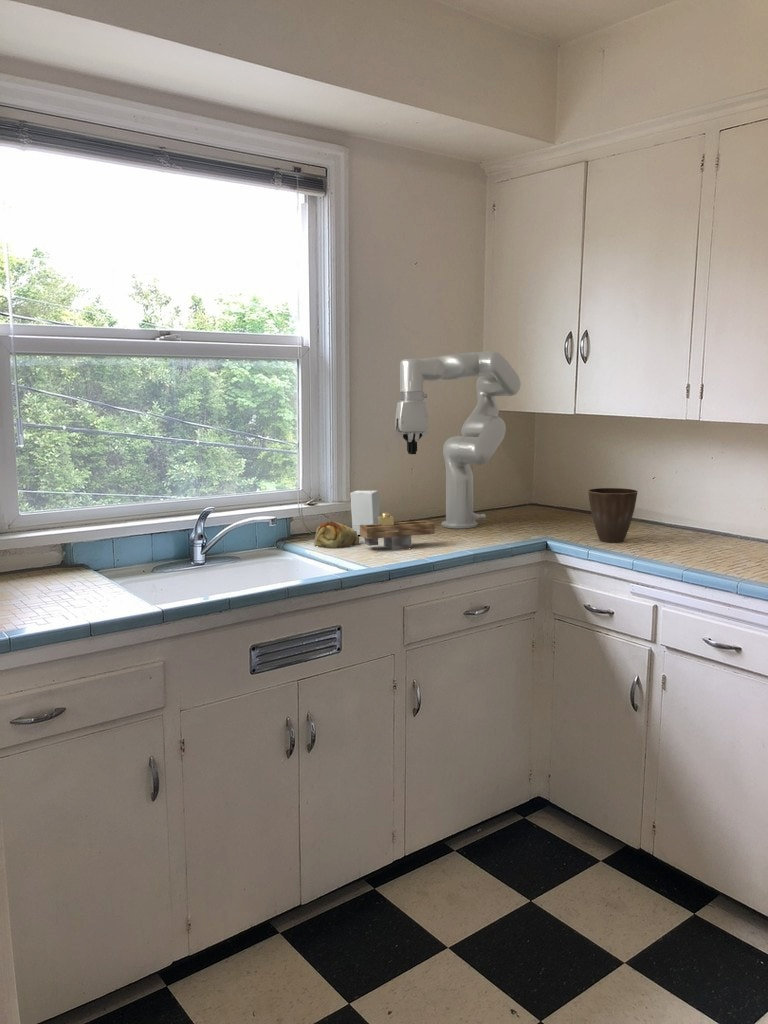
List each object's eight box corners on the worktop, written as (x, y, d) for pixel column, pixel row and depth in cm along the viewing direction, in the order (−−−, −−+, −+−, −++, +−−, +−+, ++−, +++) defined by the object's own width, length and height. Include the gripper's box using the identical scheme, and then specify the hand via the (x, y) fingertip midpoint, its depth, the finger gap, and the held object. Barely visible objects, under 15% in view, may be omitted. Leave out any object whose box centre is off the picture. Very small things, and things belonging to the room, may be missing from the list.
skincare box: (381, 534, 273) (380, 490, 271) (373, 537, 267) (373, 492, 265) (358, 532, 276) (357, 489, 274) (350, 535, 271) (349, 491, 268)
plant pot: (577, 541, 257) (579, 490, 255) (602, 534, 267) (603, 486, 265) (620, 547, 247) (622, 495, 244) (644, 540, 257) (646, 490, 255)
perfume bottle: (390, 528, 250) (390, 512, 249) (393, 529, 248) (393, 513, 247) (378, 529, 249) (378, 513, 248) (381, 530, 246) (381, 514, 245)
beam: (425, 542, 258) (425, 519, 257) (435, 546, 250) (435, 523, 249) (359, 547, 250) (359, 524, 249) (368, 552, 243) (367, 528, 242)
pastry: (310, 548, 250) (310, 523, 249) (318, 541, 262) (317, 516, 261) (355, 549, 249) (355, 523, 247) (361, 541, 261) (361, 517, 260)
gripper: (428, 397, 269) (428, 452, 272) (386, 397, 264) (386, 454, 267) (437, 397, 262) (437, 454, 265) (394, 398, 257) (394, 455, 260)
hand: (412, 453), depth 266 cm, fingers closed
